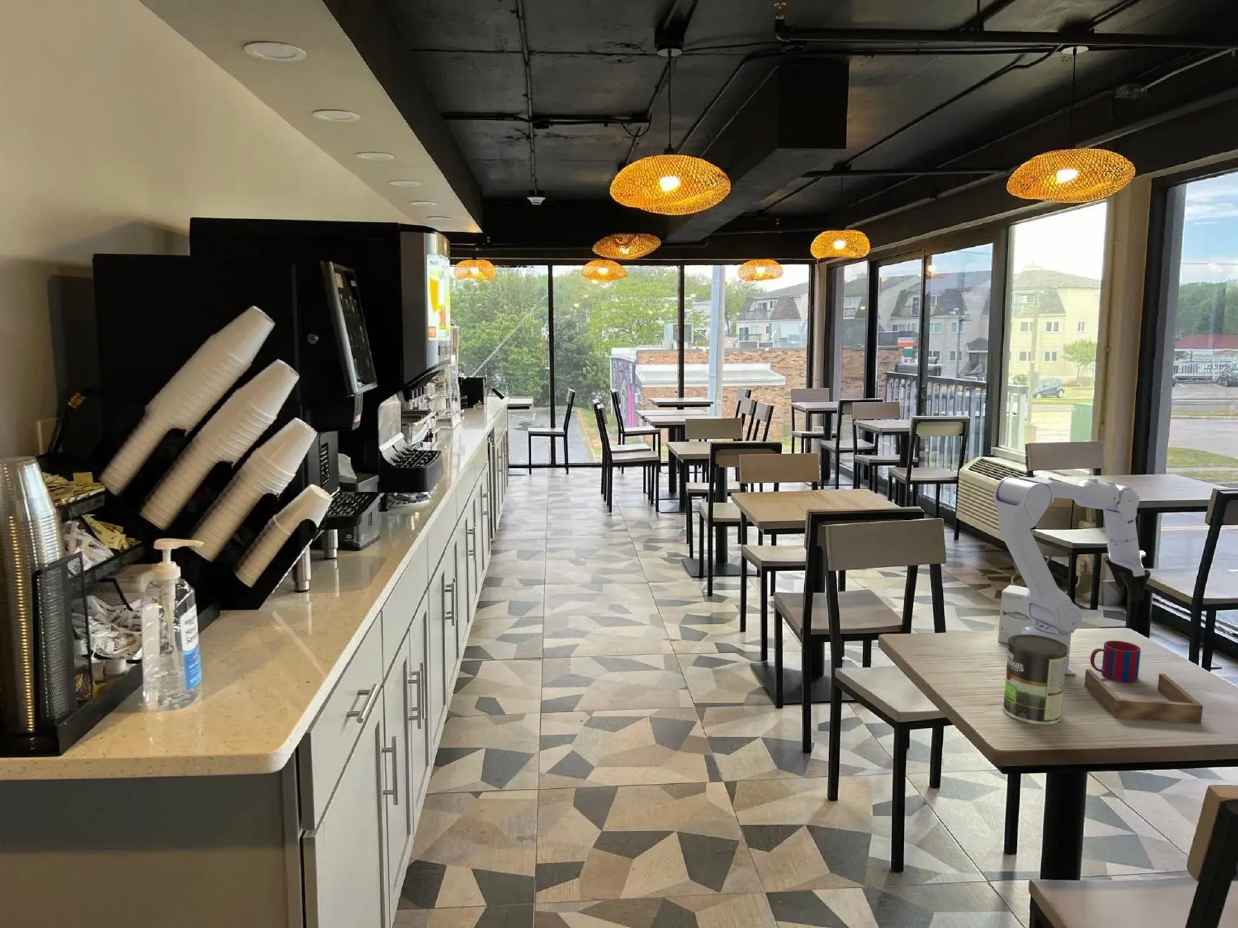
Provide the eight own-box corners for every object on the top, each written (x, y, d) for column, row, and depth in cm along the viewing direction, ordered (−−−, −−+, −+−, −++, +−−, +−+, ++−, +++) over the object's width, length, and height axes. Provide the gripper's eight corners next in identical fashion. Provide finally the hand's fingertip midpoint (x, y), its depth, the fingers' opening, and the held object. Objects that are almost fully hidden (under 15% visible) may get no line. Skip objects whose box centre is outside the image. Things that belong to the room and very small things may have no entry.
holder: (1114, 717, 164) (1116, 700, 163) (1084, 685, 179) (1085, 669, 178) (1201, 723, 161) (1203, 705, 161) (1162, 689, 176) (1164, 673, 176)
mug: (1144, 683, 180) (1147, 651, 179) (1095, 682, 180) (1098, 651, 179) (1126, 670, 187) (1129, 640, 186) (1079, 669, 187) (1082, 639, 186)
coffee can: (1016, 725, 160) (1021, 652, 158) (994, 701, 171) (999, 633, 168) (1072, 726, 160) (1078, 653, 158) (1046, 702, 170) (1052, 634, 168)
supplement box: (996, 642, 204) (1000, 590, 202) (1006, 633, 209) (1010, 583, 207) (1030, 649, 199) (1034, 596, 197) (1038, 640, 205) (1043, 589, 203)
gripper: (1156, 545, 181) (1164, 603, 184) (1128, 522, 195) (1135, 577, 198) (1120, 551, 182) (1128, 609, 185) (1094, 528, 196) (1102, 582, 199)
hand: (1129, 593), depth 192 cm, fingers open, 7 cm apart
